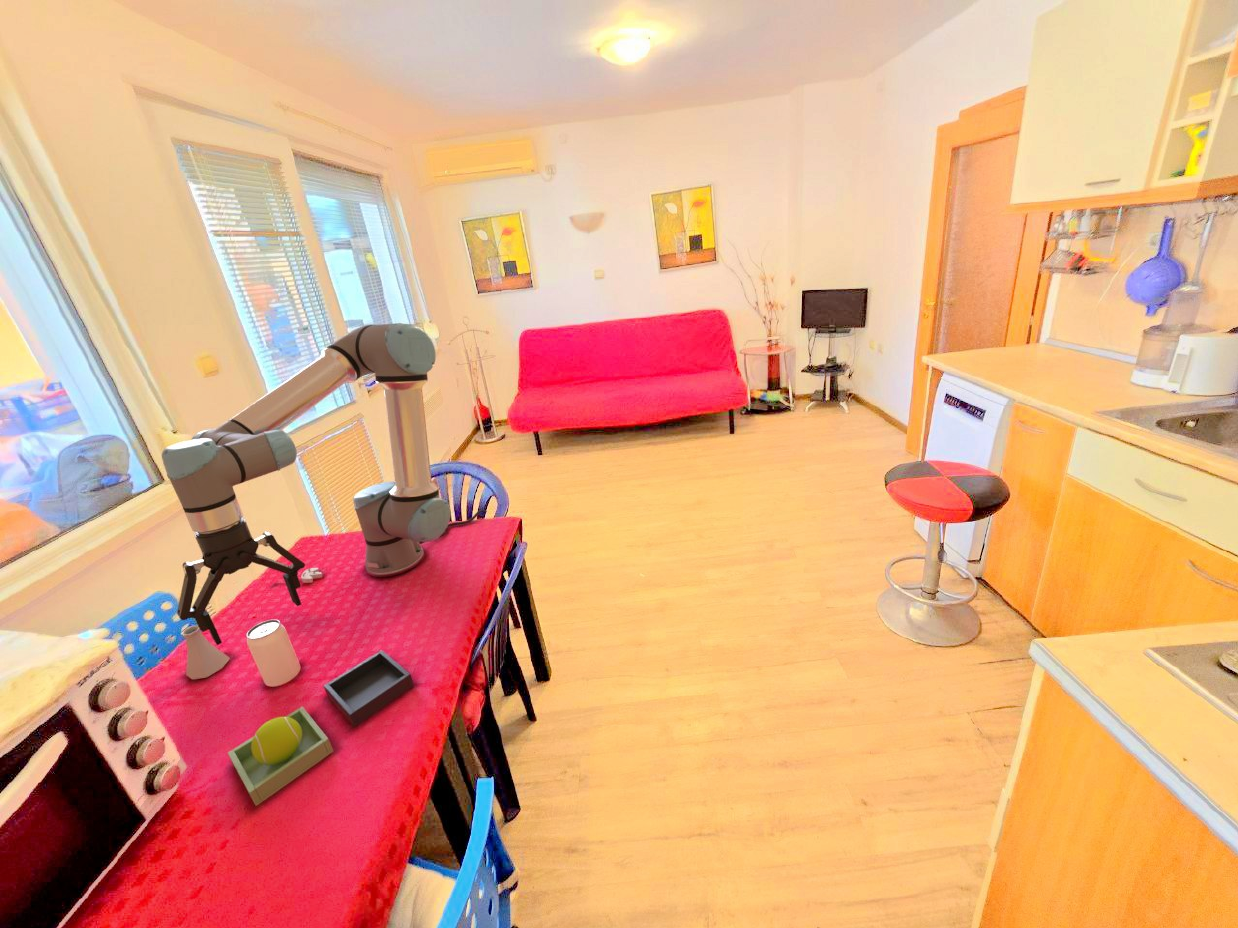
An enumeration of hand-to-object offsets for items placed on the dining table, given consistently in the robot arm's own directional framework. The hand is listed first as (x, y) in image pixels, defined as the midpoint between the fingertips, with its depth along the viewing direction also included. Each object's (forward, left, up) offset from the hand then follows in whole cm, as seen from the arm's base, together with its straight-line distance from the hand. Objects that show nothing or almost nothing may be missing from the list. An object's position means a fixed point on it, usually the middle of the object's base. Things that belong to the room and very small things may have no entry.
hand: (259, 621), depth 98 cm
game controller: (-16, -37, -14) cm, 43 cm away
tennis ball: (+7, +22, -14) cm, 27 cm away
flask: (+9, -17, -14) cm, 24 cm away
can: (0, 0, -14) cm, 14 cm away
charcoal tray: (-9, +20, -14) cm, 26 cm away
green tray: (+7, +22, -14) cm, 27 cm away
